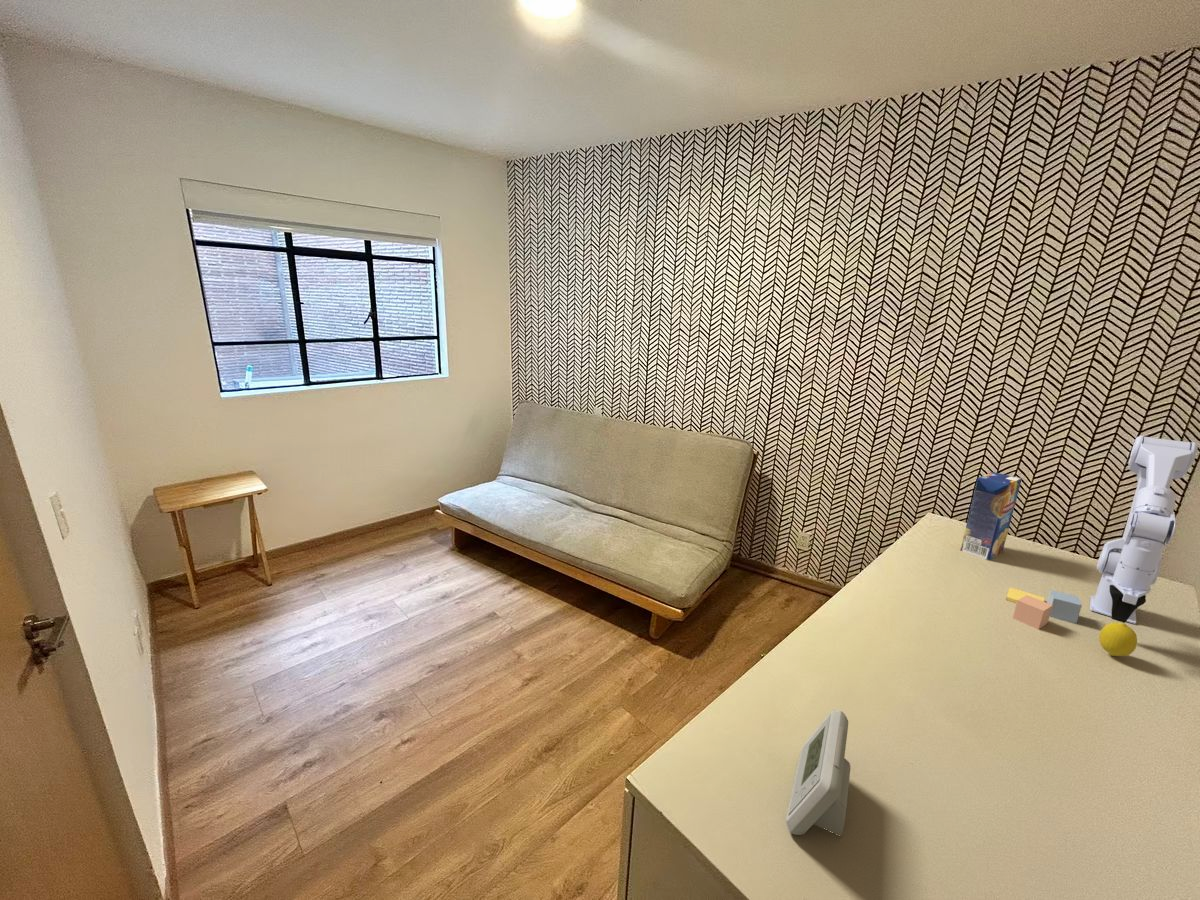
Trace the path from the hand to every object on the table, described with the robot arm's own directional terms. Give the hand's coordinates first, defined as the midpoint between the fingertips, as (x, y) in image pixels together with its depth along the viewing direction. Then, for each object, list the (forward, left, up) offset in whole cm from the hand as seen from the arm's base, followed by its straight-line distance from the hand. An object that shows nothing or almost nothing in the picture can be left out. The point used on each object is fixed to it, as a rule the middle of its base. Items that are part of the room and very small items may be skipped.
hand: (1118, 619), depth 112 cm
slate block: (-3, -9, -5) cm, 11 cm away
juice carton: (-32, -29, -5) cm, 43 cm away
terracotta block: (+6, -14, -5) cm, 16 cm away
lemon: (+9, 0, -5) cm, 10 cm away
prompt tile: (-5, -16, -5) cm, 17 cm away
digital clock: (+90, -31, -5) cm, 95 cm away
